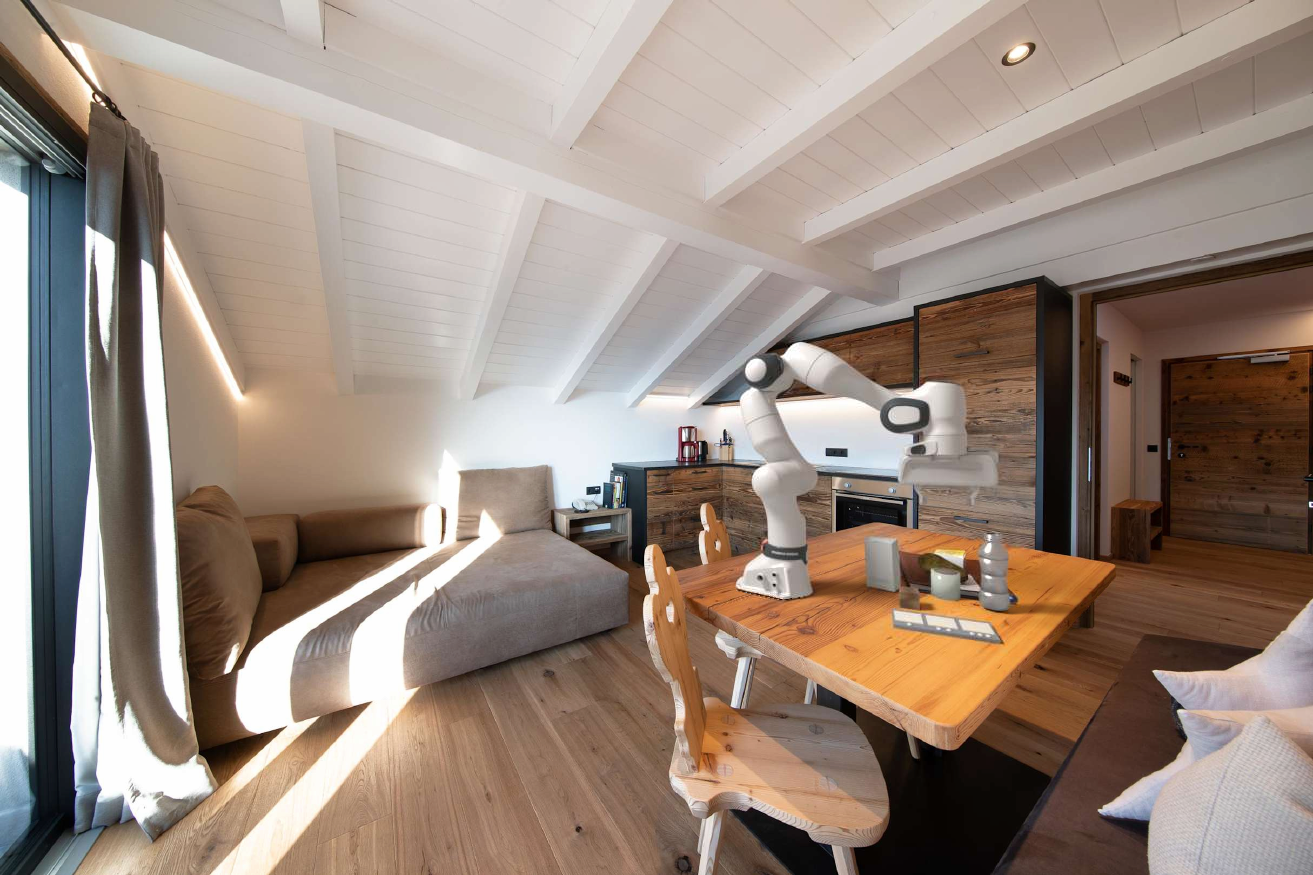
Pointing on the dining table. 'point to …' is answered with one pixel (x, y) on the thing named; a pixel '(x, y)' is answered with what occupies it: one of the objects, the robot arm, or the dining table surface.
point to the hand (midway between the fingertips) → (946, 504)
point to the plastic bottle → (993, 573)
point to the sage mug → (945, 584)
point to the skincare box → (882, 563)
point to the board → (945, 625)
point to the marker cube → (909, 598)
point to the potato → (940, 565)
